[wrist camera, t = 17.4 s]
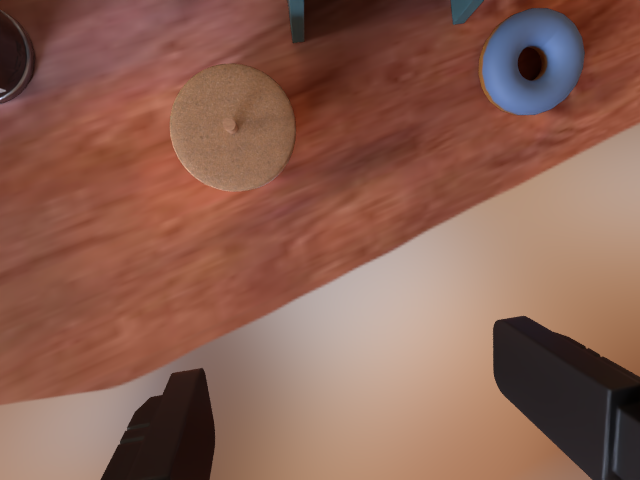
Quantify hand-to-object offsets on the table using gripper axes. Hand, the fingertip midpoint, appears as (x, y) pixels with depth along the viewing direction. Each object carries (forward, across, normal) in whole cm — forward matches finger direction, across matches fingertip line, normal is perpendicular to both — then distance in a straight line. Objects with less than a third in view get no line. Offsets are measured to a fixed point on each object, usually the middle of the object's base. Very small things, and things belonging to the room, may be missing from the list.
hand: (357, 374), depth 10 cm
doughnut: (+31, -26, -13) cm, 43 cm away
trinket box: (+33, +3, -8) cm, 34 cm away
